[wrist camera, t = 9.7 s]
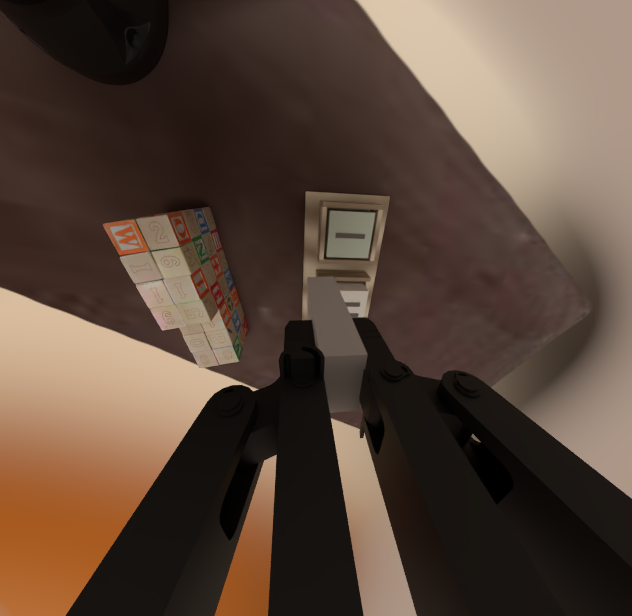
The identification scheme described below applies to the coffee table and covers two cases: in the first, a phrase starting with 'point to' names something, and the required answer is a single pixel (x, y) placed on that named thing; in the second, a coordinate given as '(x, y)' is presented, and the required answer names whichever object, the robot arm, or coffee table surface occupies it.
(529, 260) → the coffee table surface
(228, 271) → the stack of blocks
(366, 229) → the light grey block
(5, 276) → the coffee table surface
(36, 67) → the coffee table surface
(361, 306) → the tile
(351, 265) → the button board
